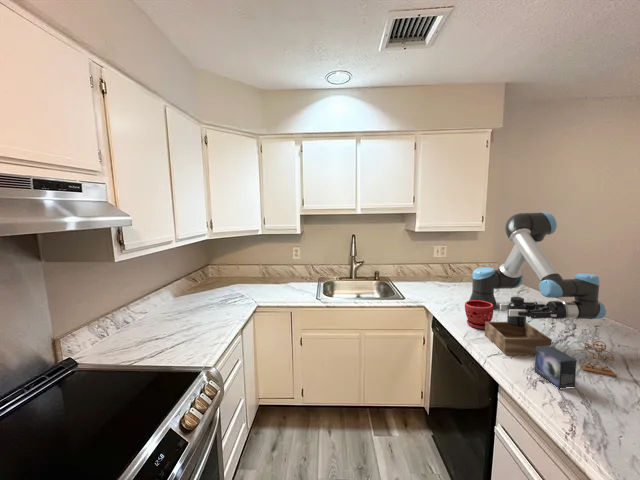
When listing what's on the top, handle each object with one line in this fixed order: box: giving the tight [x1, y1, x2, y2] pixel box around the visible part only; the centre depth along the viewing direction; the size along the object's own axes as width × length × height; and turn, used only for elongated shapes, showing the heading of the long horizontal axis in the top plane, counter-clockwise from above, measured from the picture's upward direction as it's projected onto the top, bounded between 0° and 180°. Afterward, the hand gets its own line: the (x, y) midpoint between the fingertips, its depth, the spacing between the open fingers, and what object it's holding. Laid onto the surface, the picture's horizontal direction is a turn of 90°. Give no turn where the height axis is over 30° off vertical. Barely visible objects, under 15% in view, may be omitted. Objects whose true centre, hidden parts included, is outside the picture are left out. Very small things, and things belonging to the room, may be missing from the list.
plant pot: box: [464, 300, 494, 330], centre depth 148 cm, size 13×13×12 cm
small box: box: [534, 344, 578, 390], centre depth 101 cm, size 11×6×10 cm, turn 5°
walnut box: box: [484, 321, 553, 356], centre depth 127 cm, size 18×18×7 cm
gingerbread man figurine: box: [579, 340, 617, 378], centre depth 105 cm, size 9×4×12 cm, turn 60°
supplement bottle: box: [506, 296, 527, 327], centre depth 126 cm, size 7×7×12 cm
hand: (504, 309), depth 126 cm, fingers closed on supplement bottle, 7 cm apart
